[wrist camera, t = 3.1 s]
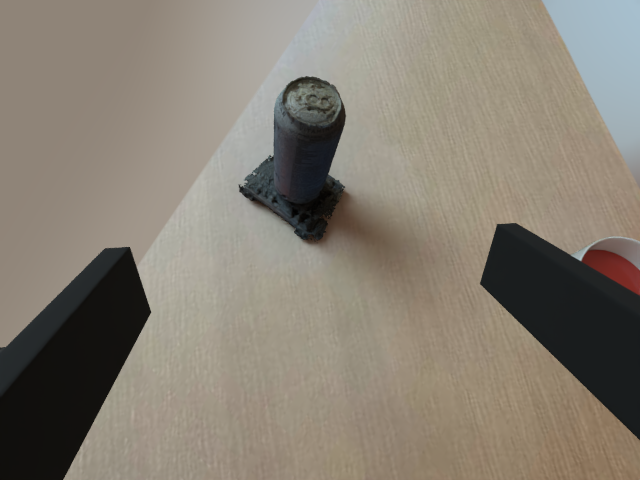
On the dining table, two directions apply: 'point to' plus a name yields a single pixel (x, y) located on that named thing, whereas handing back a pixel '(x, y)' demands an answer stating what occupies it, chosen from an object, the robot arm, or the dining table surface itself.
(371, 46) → the dining table surface
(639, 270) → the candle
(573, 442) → the dining table surface
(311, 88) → the beverage can
